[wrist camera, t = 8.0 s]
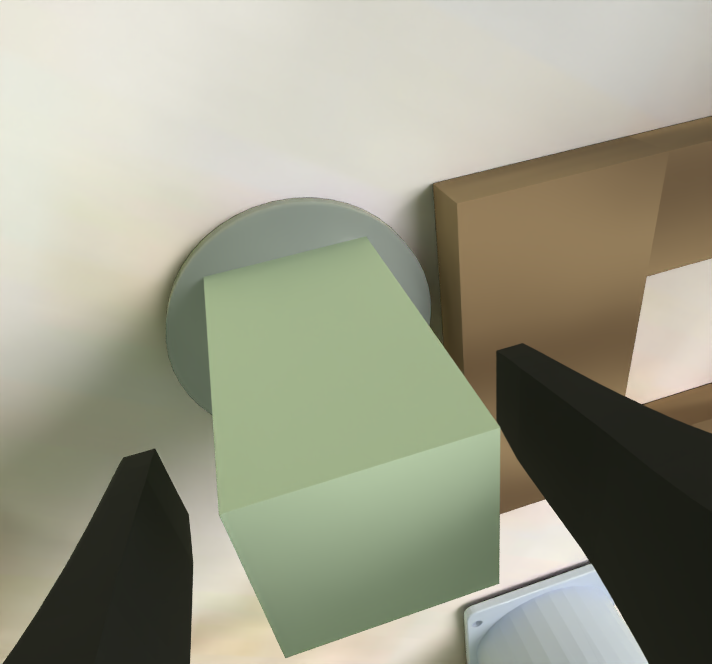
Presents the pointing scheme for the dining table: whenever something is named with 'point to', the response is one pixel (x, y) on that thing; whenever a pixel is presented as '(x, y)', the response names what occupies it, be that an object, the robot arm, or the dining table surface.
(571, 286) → the pocket board
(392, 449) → the block
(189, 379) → the coaster
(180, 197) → the dining table surface
